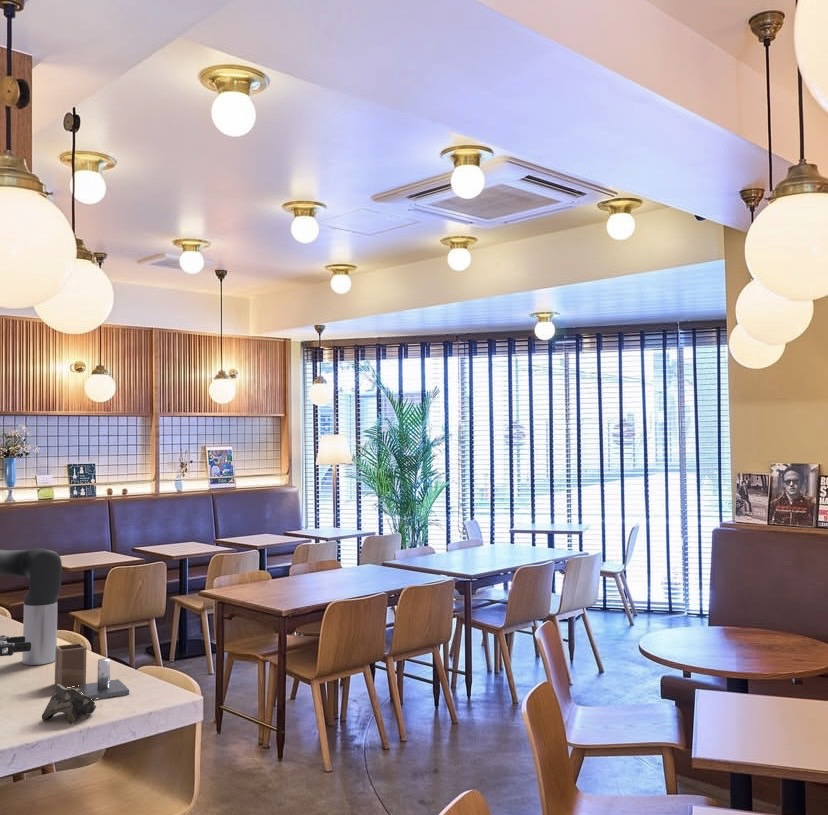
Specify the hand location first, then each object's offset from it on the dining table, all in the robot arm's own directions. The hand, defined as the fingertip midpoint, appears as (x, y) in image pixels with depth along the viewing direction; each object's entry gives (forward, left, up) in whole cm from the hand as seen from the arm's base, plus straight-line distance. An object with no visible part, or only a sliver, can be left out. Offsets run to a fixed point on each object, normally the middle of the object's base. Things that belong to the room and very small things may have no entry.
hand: (27, 643), depth 213 cm
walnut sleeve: (0, +11, -12) cm, 16 cm away
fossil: (+29, +6, -13) cm, 33 cm away
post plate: (+12, +17, -12) cm, 24 cm away
